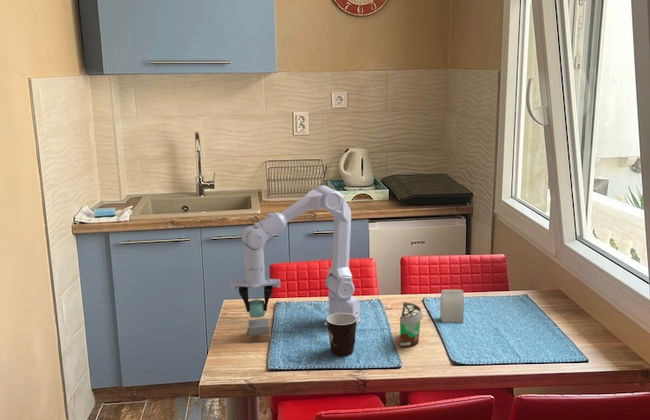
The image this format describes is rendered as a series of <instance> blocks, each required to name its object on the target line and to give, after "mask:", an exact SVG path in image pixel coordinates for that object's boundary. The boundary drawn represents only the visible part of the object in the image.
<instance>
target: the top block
mask: <svg viewBox="0 0 650 420" xmlns="http://www.w3.org/2000/svg"><path fill="white" fill-rule="evenodd" d="M247 321H248V327H249V336H253V335H266V334H269V326H270V324H269V323H270V321H269V318H255V319H248V320H247Z"/></svg>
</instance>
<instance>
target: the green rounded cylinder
mask: <svg viewBox="0 0 650 420" xmlns="http://www.w3.org/2000/svg"><path fill="white" fill-rule="evenodd" d="M264 304H265V300H264V299H261V298H260V299H257V298H256V299H251V300H249V312H248V313H249V314H248V315H249V317H250V318H255V319H260V318H262V317H264V316H265V314H266V313H265V312H266V311H264Z"/></svg>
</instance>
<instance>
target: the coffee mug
mask: <svg viewBox="0 0 650 420" xmlns="http://www.w3.org/2000/svg"><path fill="white" fill-rule="evenodd" d="M326 322H327V325H326V326H327V331H328V338H329V346H330V351H331V354H332V355H334V356H337V357H347V356H350V355H352V354H354V351H355V350H354V349H355V343H356V331H357V325H358V324H357V317H356V316H355V315H353V314H349V313H335V314H332V315H329V314H328V316H327V317H326ZM356 324H357V325H356Z"/></svg>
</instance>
